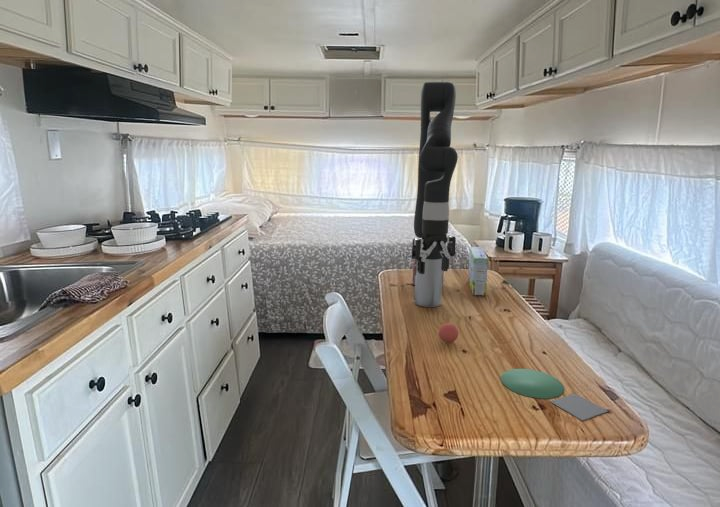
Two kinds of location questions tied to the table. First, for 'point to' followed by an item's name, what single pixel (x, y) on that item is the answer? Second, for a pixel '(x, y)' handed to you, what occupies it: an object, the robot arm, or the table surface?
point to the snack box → (477, 271)
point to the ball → (448, 332)
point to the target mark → (532, 383)
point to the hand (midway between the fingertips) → (432, 272)
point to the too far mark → (579, 407)
